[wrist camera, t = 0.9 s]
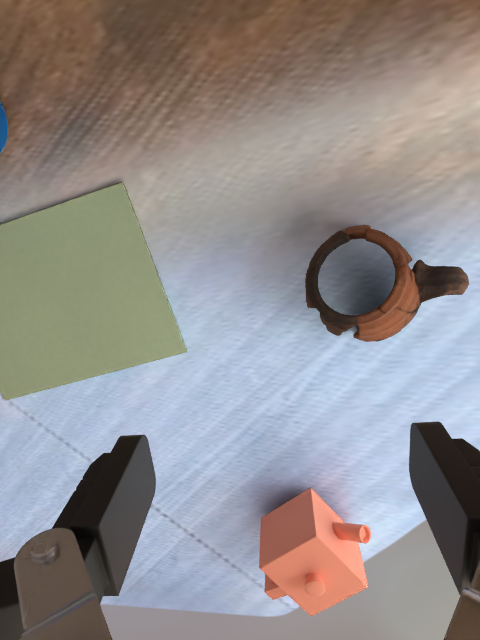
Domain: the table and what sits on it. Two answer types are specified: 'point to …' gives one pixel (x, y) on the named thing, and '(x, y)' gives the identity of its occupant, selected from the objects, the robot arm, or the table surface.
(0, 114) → the beverage can
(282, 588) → the pink cube teapot
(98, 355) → the desk mat
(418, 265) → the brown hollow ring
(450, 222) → the table surface
